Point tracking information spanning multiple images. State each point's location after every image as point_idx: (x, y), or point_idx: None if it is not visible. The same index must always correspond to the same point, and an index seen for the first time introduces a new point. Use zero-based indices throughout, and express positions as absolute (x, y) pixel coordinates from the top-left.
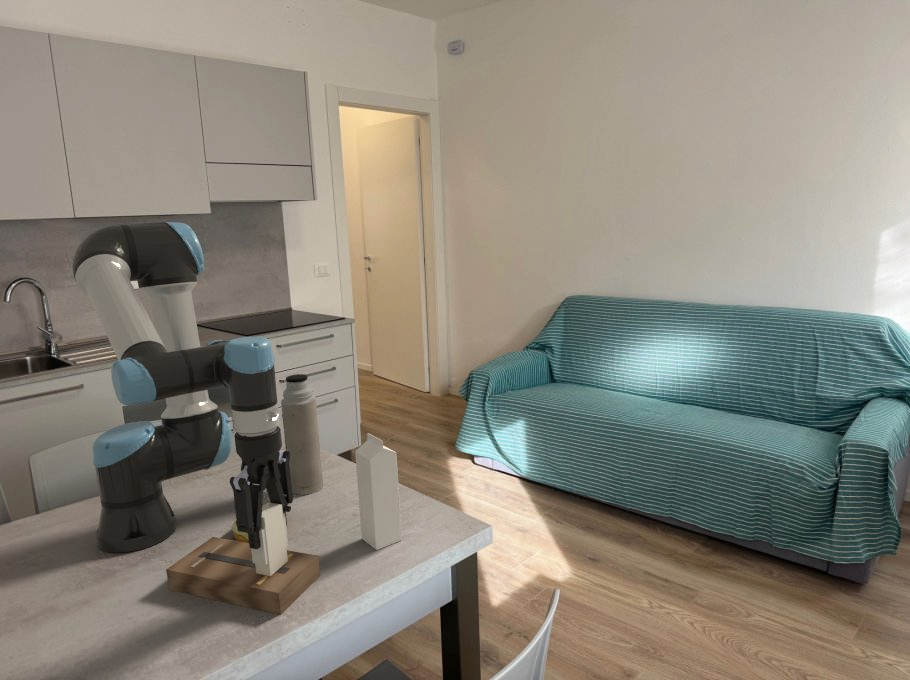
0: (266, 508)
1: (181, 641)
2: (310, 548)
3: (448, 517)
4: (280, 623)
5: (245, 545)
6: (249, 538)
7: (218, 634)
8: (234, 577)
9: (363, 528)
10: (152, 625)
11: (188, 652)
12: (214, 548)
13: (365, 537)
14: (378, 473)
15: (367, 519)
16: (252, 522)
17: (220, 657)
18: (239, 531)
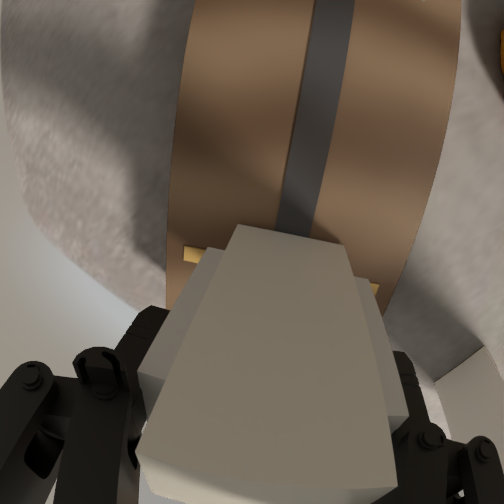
0: (283, 502)
1: (61, 116)
2: (478, 252)
3: None
4: (160, 295)
5: (436, 87)
6: (119, 348)
7: (93, 181)
8: (206, 149)
9: (484, 374)
10: (94, 11)
11: (45, 156)
12: None
13: (473, 363)
14: None
15: (476, 410)
16: (56, 463)
17: (55, 225)
18: (32, 366)
